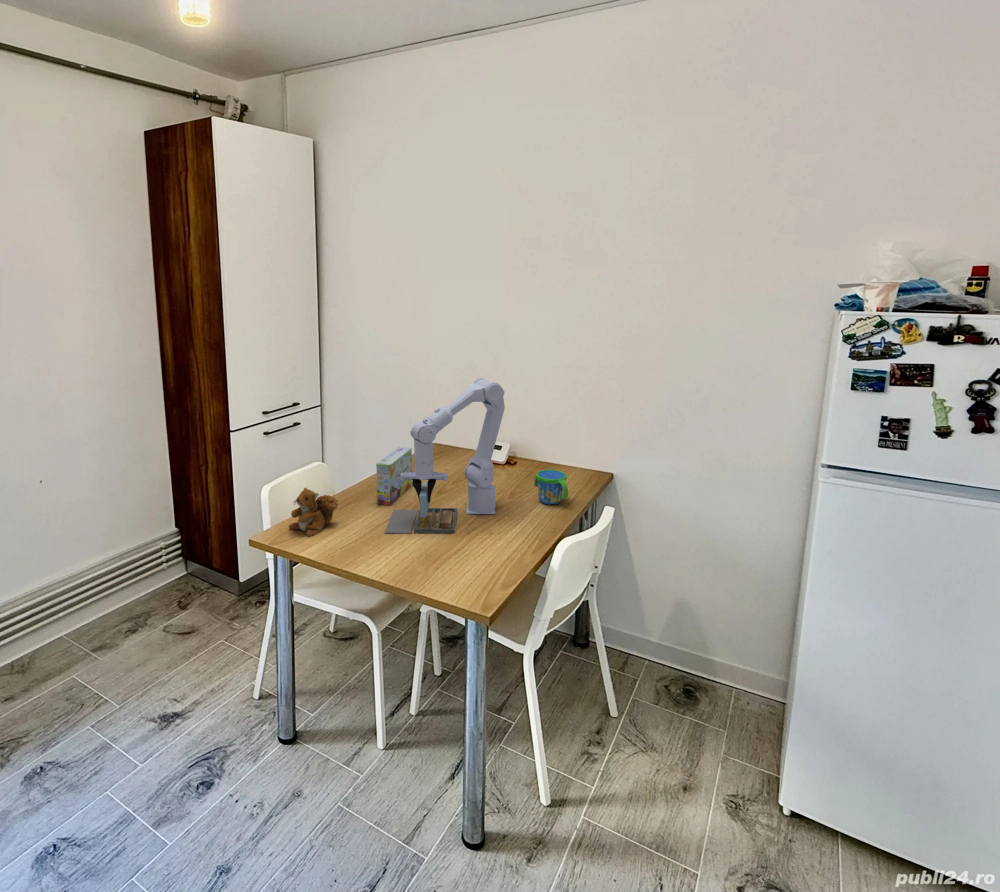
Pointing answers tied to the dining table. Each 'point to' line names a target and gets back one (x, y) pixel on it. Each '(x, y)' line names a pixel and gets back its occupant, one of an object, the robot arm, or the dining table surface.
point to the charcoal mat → (401, 522)
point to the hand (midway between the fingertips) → (424, 501)
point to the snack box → (393, 475)
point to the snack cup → (551, 486)
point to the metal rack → (437, 530)
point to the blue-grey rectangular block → (424, 500)
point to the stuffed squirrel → (313, 511)
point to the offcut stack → (446, 520)
